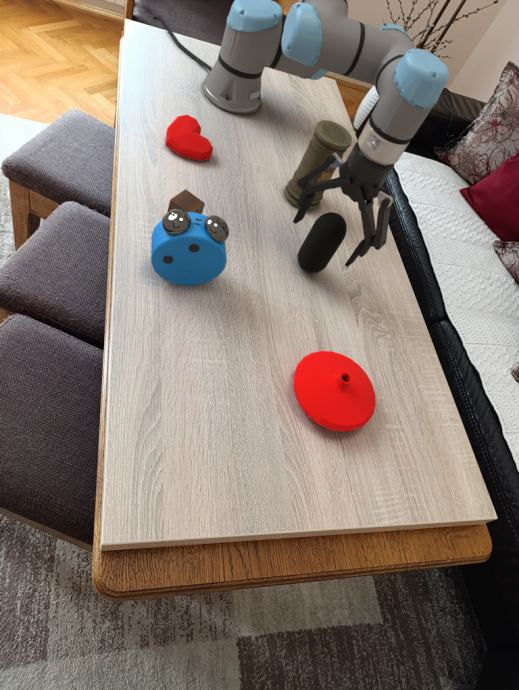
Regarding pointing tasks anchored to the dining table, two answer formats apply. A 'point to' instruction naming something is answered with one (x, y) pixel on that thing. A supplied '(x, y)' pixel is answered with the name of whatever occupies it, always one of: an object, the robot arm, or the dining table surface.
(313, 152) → the container
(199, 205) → the walnut block
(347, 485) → the dining table surface
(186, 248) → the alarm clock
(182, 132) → the heart
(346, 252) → the dining table surface
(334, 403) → the flat cone with hole
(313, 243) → the decorative object
